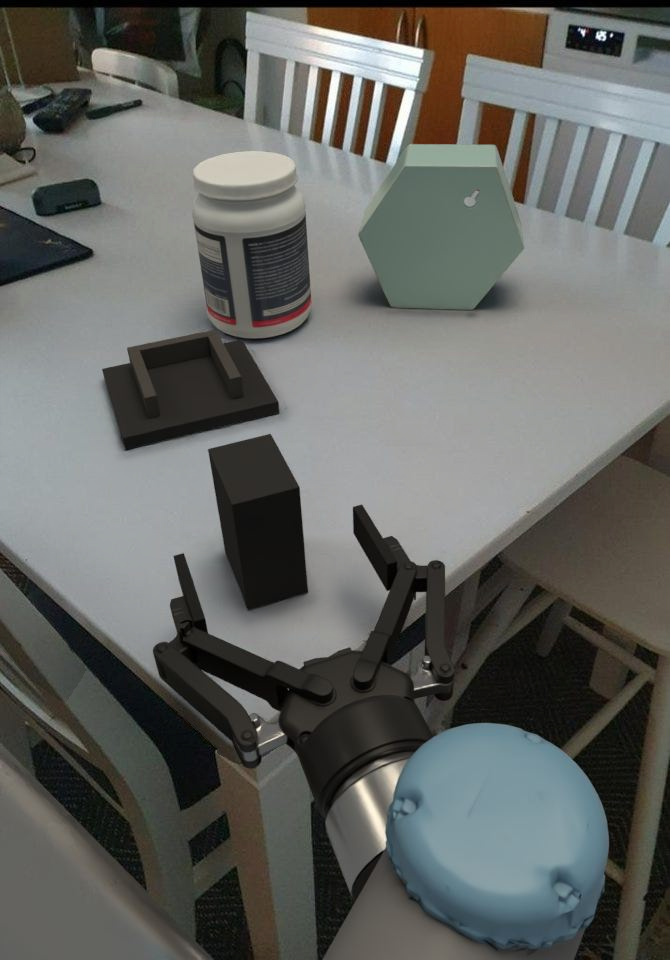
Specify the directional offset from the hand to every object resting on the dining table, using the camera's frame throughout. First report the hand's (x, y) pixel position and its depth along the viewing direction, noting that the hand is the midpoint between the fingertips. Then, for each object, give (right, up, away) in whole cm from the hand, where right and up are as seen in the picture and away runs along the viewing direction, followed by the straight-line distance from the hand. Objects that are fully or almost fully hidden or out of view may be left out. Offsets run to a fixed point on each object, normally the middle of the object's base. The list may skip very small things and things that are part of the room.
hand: (271, 542), depth 60 cm
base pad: (-11, +14, +27) cm, 32 cm away
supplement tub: (-5, +24, +40) cm, 47 cm away
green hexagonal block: (+18, +28, +43) cm, 55 cm away
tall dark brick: (-1, -3, +6) cm, 7 cm away
